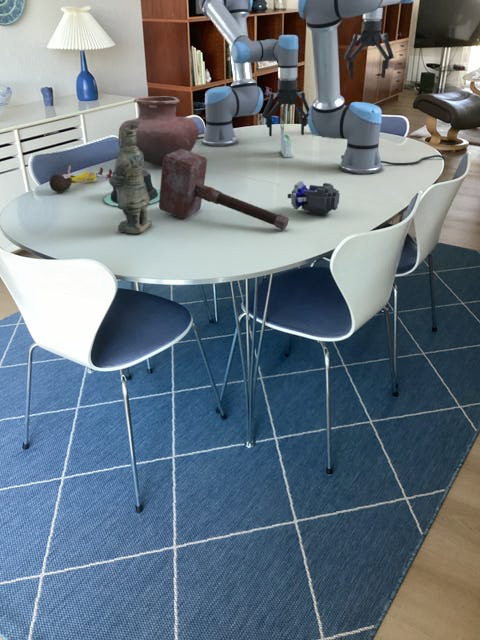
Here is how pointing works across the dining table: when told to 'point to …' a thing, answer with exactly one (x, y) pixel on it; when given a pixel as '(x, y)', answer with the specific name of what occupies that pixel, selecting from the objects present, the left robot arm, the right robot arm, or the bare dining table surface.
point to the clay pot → (162, 128)
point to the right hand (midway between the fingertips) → (366, 78)
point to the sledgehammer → (200, 190)
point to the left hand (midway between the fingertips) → (286, 135)
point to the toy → (315, 198)
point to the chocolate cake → (152, 192)
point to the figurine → (74, 179)
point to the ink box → (285, 142)
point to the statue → (131, 182)
